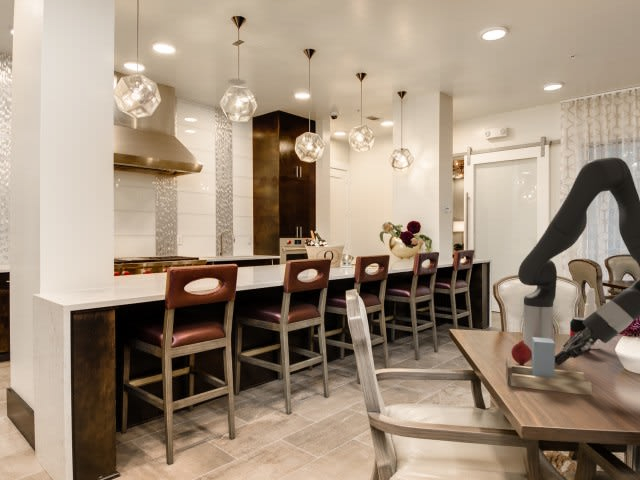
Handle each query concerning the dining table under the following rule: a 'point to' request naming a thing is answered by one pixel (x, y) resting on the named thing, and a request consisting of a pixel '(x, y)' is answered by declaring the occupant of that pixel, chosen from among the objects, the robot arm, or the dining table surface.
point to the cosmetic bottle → (591, 310)
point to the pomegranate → (521, 353)
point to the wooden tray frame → (547, 380)
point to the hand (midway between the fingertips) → (555, 362)
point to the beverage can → (577, 325)
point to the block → (543, 357)
